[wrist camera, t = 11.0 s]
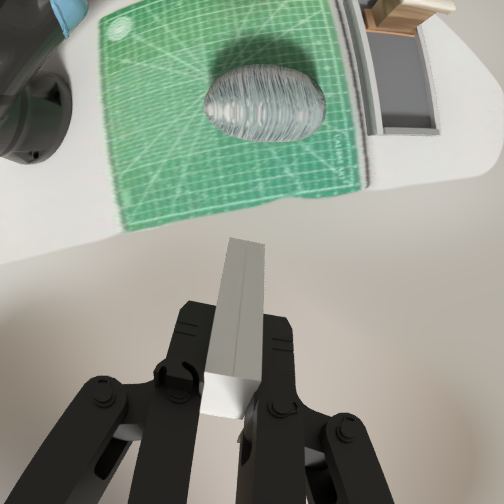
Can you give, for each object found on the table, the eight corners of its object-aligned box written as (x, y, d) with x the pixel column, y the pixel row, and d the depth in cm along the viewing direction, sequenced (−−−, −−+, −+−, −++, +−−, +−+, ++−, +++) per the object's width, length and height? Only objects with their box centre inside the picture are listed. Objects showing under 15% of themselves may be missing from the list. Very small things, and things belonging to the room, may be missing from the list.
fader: (414, 39, 28) (459, 10, 17) (367, 34, 29) (403, -4, 17) (406, 13, 27) (447, -22, 15) (360, 7, 27) (391, -36, 16)
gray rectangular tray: (431, 136, 34) (445, 135, 31) (367, 135, 35) (378, 133, 31) (406, 10, 28) (417, 0, 25) (343, 3, 29) (350, -9, 25)
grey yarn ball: (335, 66, 30) (325, 80, 23) (325, 135, 37) (313, 169, 30) (227, 55, 33) (188, 68, 26) (228, 119, 40) (193, 148, 33)
